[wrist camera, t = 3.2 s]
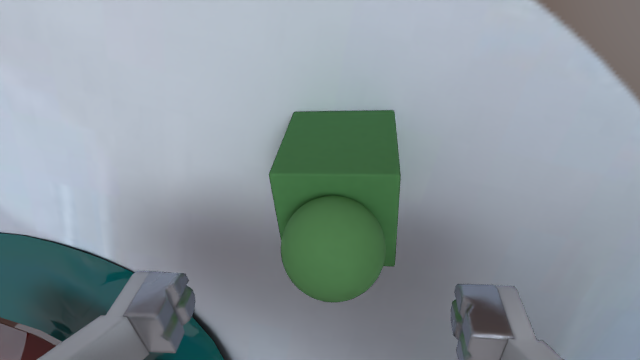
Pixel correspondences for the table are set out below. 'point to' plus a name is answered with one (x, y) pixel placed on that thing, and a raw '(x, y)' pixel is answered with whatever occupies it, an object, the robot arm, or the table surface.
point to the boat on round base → (66, 300)
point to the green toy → (337, 200)
